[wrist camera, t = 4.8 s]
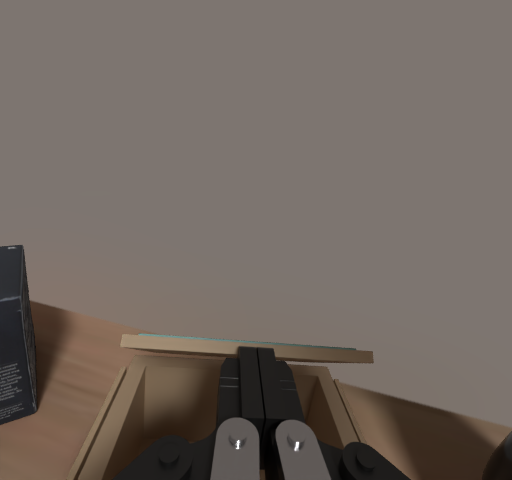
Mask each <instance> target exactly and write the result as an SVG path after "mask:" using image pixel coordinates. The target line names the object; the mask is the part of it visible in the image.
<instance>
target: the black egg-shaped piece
mask: <svg viewBox="0 0 512 480" xmlns="http://www.w3.org/2000/svg"><path fill="white" fill-rule="evenodd" d="M482 480H512V431H511V432H510V433H509V434H508V435H507V436H506V438H505V439H504V440H503V441H502V442H501V443H500V444H499V446H498V447H497V448H496V449H495V451H494V452H493V453H492V455H491V456H490V458H489V460H488V462H487V464H486V466H485V468H484V471H483V475H482Z"/></svg>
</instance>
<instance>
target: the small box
mask: <svg viewBox="0 0 512 480" xmlns="http://www.w3.org/2000/svg"><path fill="white" fill-rule="evenodd" d="M28 292H29V290H28V284H27V275H26V266H25V256H24V249H23V245H15V246H2V247H0V425H1V424H4V423H7V422H10V421H13V420H16V419H19V418H22V417H25V416H28V415H31V414H34V413H35V412H36V411H37V388H36V384H37V383H36V382H37V379H36V346H35V336H34V328H33V322H32V316H31V308H30V301H29V294H28Z"/></svg>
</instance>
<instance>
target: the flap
mask: <svg viewBox="0 0 512 480" xmlns="http://www.w3.org/2000/svg"><path fill="white" fill-rule="evenodd" d="M239 346H248V347H264V348H273V349H274V352H275V357H276V360H280V361H297V362H321V363H373V352H372V351H358V350H356V349H353V348H338V347H324V346H310V345H296V344H282V343H268V342H267V343H266V342H253V341H239V340H224V339H210V338H196V337H181V336H168V335H153V334H139V335H128V334H123V335H122V340H121V345H120V347H124V348H130V349H136V350H143V351H149V352H156V353H170V354H185V355H201V356H217V357H233V358H237V355H238V348H239Z"/></svg>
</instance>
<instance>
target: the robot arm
mask: <svg viewBox="0 0 512 480" xmlns="http://www.w3.org/2000/svg"><path fill="white" fill-rule="evenodd" d="M259 470H265V479H266V480H411V479H409V478H408V477H407V476H406V475H405V474H403V473H402V472H401V471H400V470H399V469H397V468H396V467H395V466H394V465H393V464H391V463H390V462H389V461H388V460H387V459H385V458H384V457H383V456H382V455H381V454H379V453H378V452H377V451H376V450H375V449H373V448H372V447H370V446H369V445H367V444H365V443H361V442H350V443H348V444H347V445H346V446H345V447H344V449H343V450H342V449H339V448H336V447H334V446H331V445H328V444H326V443H323V442H322V441H320V440H319V439H317V438H316V436H315V434H314V432H313V431H312V430H311V429H310V428H309V427H308V426H307V425H306V422H305V419H304V415H303V411H302V407H301V403H300V400H299V396H298V392H297V388H296V384H295V382H294V377H293V373H292V370H291V369H290V367H289V366H288V365H287V363H286V362H285V361H276V357H275V352H274V349H273V348H264V347H248V346H239V348H238V355H237V358H226V359H225V361H224V362H223V364H222V365H221V370H220V378H219V386H218V394H217V411H216V428H215V430H214V431H213V432H212V433H211V434H210V435H209V436H208V437H206V438H204V439H202V440H200V441H197V442H193V443H189V442H188V441H187V440H186V439H185V438H183V437H181V436H177V435H168V436H164V437H161V438H159V439H158V440H156V441H155V442H154V443H152V444H151V445H150V446H149V447H148V448H147V449H146V450H145V451H143V452H142V453H141V454H140V455H139V456H138V457H137V458H135V459H134V460H133V461H132V462H131V463H130V464H129V465H128V466H126V467H125V468H124V469H123V470H122V471H121V472H120V473H119V474H117V475H116V476H115V477H114V478H113V479H112V480H260V474H259Z"/></svg>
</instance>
